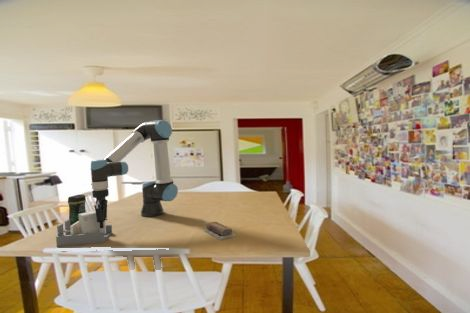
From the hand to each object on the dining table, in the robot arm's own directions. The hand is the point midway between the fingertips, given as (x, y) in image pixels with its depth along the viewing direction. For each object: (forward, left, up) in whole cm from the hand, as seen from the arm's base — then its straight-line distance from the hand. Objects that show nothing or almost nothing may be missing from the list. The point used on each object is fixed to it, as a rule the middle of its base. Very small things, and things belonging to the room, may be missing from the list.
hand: (102, 233), depth 136 cm
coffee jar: (+25, -30, -3) cm, 39 cm away
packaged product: (-61, +8, -3) cm, 62 cm away
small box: (+7, 0, -2) cm, 7 cm away
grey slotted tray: (+8, 0, -3) cm, 8 cm away
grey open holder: (+17, 0, -1) cm, 17 cm away
